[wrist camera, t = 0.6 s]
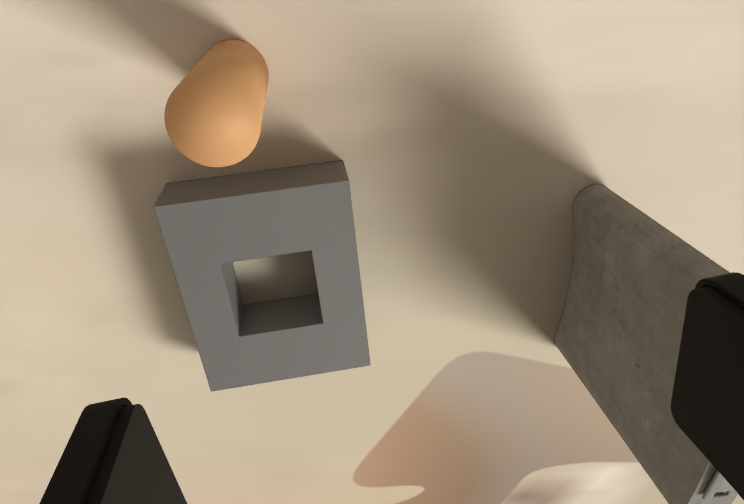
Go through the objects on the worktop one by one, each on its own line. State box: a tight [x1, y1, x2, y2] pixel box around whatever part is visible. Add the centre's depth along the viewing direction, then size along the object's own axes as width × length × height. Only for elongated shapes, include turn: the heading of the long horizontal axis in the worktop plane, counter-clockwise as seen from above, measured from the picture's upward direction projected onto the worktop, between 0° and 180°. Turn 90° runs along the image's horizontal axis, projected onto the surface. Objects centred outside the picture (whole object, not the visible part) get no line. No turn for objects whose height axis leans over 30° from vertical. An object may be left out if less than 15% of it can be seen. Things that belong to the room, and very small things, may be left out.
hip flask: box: [554, 184, 738, 504], centre depth 36 cm, size 16×4×20 cm, turn 3°
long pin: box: [165, 39, 268, 167], centre depth 28 cm, size 4×4×12 cm
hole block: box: [154, 160, 370, 391], centre depth 39 cm, size 15×12×4 cm
